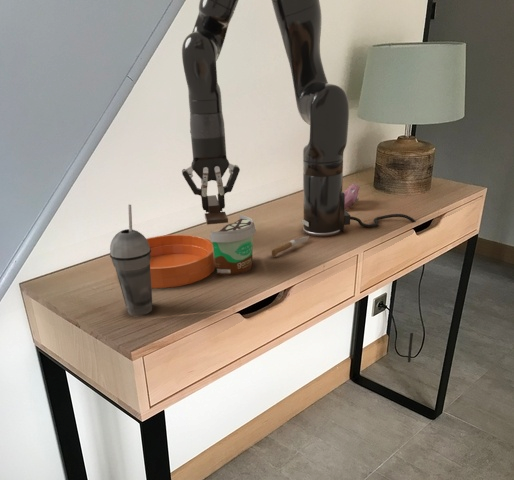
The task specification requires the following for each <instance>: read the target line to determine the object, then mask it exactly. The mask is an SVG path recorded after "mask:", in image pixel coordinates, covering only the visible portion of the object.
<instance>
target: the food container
mask: <svg viewBox="0 0 514 480" xmlns="http://www.w3.org/2000/svg"><path fill="white" fill-rule="evenodd" d="M256 233H257V229H256V225H255V223H254V221H253V219H252V218H251V217H250V216H247V215H242V214H239V219H238V220H236V221H235V222H233V223H232V222H231V223H227V224H226V225H225V226H224V227H223V228H220V230H219V231H215V230H210V238H209V240H210V242H212V243H213V250H214V256H215V263H216V268H215V270H216V275H217V276H227V277H228V276H229V277H231V276H237V275H238V276H239V275H242V274H245V273H248V272H249V271H250V270H251V269H252V268H253V246H254V244H253V242H254V241H253V239H254V235H255V234H256Z"/></svg>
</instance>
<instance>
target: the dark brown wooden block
mask: <svg viewBox="0 0 514 480" xmlns="http://www.w3.org/2000/svg"><path fill="white" fill-rule="evenodd" d="M207 196H208V208H209V212H205V213H204V219H205V222H206V225H207V226H208V225H218V224H229V218H228V215H227V213H226V211H220V204H219V202H218V196H217V195H215V194H213V195H207Z"/></svg>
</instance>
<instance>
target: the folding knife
mask: <svg viewBox="0 0 514 480" xmlns="http://www.w3.org/2000/svg"><path fill="white" fill-rule="evenodd" d="M309 238H310V235H307V236H303V237H300V238H299V237H298V238H295V239H291V240H290V241H287V242H284V243H282V244H279V245H278V246H276V247H274V248H272V249H271V257H272V258H275V257H276V256H277V255H278V254H279V253H282V252H284V251H287V250H288V249H290V248H292V247H294V246H296V245H299V244H302V243H305V242H306V241H308V239H309Z"/></svg>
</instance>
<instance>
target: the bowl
mask: <svg viewBox="0 0 514 480" xmlns="http://www.w3.org/2000/svg"><path fill="white" fill-rule="evenodd" d="M146 239H147V241H148V243H149V247H150V249H151V262H150V272H151V288H152V289H167V288H175V287H180V286H181V287H182V286H186V285H191V284H193V283H196V282H199V281H201V280H204V279H205V278H207V277H209V276H210V275H211V274H212V273H214V272H215V271H216V263H215V256H214V250H213V243H212V242H210V239H207V238H205V237H202V236H198V235H194V234H165V235H158V236H152V237H146Z"/></svg>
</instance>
